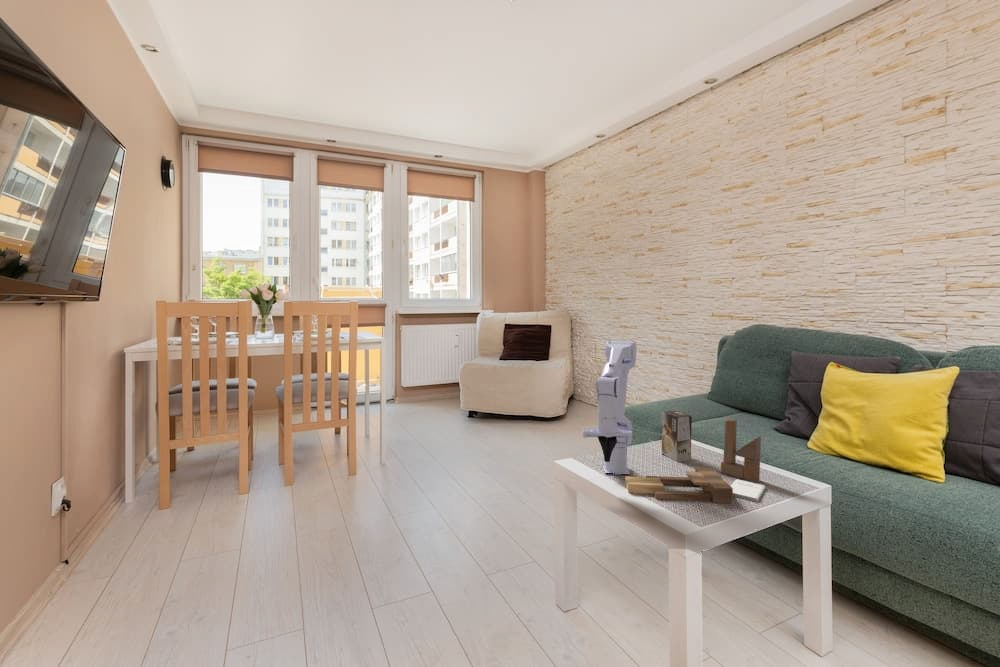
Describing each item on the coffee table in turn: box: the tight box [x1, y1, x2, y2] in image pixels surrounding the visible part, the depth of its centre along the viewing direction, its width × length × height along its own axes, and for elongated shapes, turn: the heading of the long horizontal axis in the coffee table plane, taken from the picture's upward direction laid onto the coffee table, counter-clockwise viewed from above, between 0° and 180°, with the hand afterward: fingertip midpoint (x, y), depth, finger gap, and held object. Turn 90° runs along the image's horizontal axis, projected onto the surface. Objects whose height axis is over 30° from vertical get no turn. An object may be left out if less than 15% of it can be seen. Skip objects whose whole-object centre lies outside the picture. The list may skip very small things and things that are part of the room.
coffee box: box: [661, 410, 693, 462], centre depth 167 cm, size 9×6×16 cm
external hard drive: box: [730, 478, 767, 503], centre depth 137 cm, size 2×8×12 cm
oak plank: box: [624, 475, 664, 495], centre depth 138 cm, size 6×10×3 cm, turn 83°
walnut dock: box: [645, 467, 733, 504], centre depth 137 cm, size 16×20×4 cm
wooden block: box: [720, 418, 762, 483], centre depth 148 cm, size 4×11×18 cm, turn 39°
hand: (606, 460), depth 139 cm, fingers closed
